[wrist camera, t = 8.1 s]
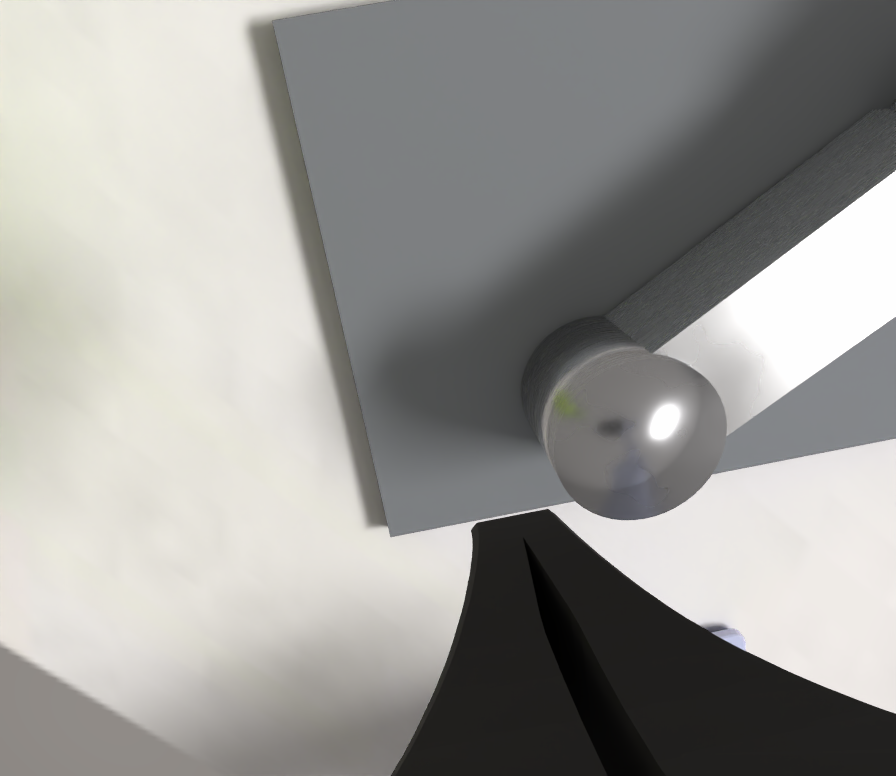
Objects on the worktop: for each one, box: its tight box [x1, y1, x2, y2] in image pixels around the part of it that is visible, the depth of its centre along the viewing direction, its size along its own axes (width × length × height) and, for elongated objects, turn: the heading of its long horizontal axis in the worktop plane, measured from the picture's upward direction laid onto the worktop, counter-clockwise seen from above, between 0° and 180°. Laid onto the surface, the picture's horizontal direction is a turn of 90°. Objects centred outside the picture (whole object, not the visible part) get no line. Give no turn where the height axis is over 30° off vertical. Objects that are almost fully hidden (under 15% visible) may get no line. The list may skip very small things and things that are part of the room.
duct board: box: [272, 0, 896, 537], centre depth 17 cm, size 15×25×6 cm, turn 99°
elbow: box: [521, 99, 896, 520], centre depth 17 cm, size 14×5×5 cm, turn 129°
